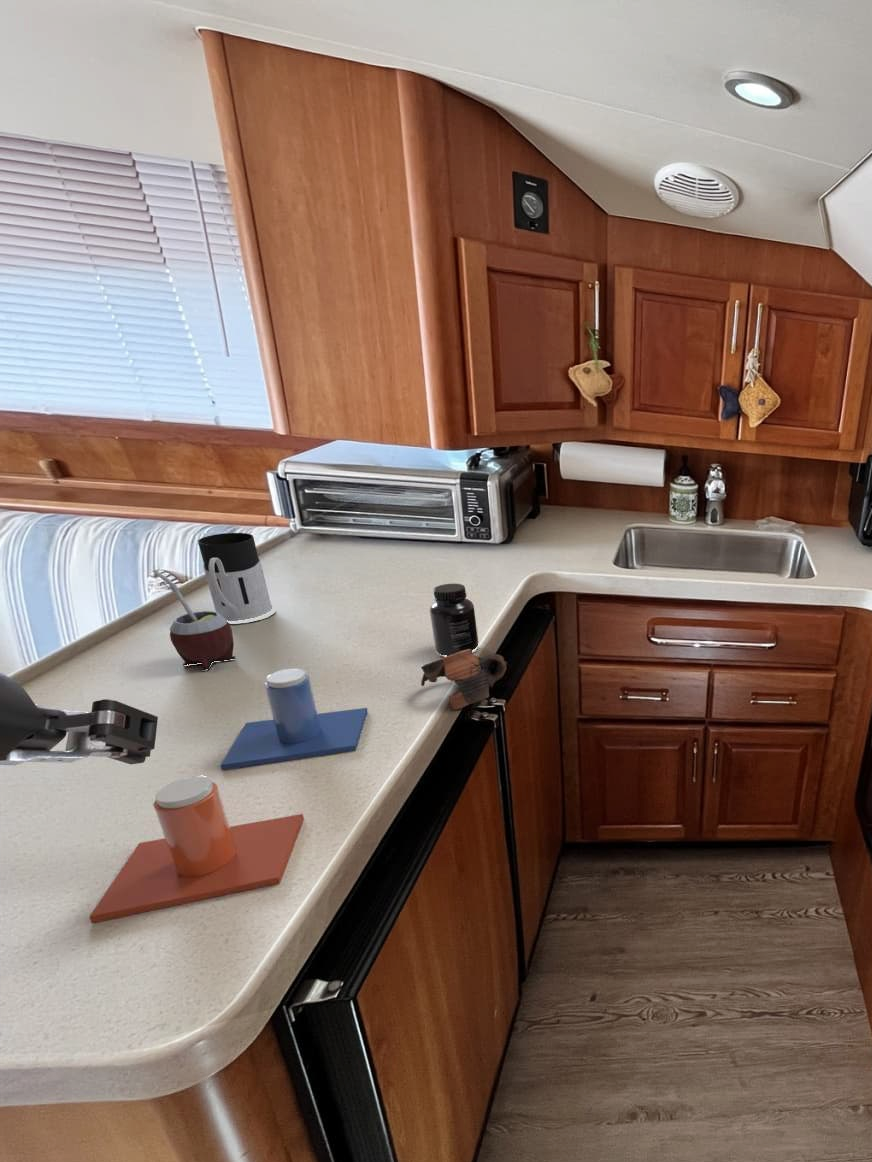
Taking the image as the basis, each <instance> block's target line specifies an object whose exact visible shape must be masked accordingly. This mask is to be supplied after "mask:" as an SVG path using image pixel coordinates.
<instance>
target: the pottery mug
mask: <svg viewBox="0 0 872 1162" xmlns="http://www.w3.org/2000/svg"><path fill="white" fill-rule="evenodd" d="M493 663H495V664H496V669H495V671H494V672H493V673H492V672H491V671H490V670H489V669H490V667H491V664H493ZM507 666H508V662H507V661H505V657H504V656H502V655H500V654H497V653H491V654H487V655H484V656H479V657H478V656H477V655H475V654H474V653H472V650H471V649H467V650H463V651H461V652H458V653H455V654H452V655H450V656H447V657H441V658H439V659H436V660H434V661H433V660H432V661H431V662H428V663H426V664H424V665H423V666H421V667H420V669H421V670H422V672H423V674H422V678H421V680H420V685H421V687H424V686H425V683H426V682H427V681H428V682H430V683H437V681H438V679H439V678H442V677H443V678H444V677H445V678H446V679H447V680H448V681H450V682H454V683H455V685H457V687H458V688H459V690H460V691H458V692H457V693H455V694H453V695H450V696H448V697H447V699H448V702H449V703H450V705H451V708H452V709H453V711H456V710H460V709H462V708H465V707H468V706H470V705H473V704H476V703H479V702H482V701H484V700H486V699H488V698H489V697H490V689H492V688H493V687H494V685H495V683H496V682H497V681H499V680H500V679H501V678H503V677H504V675H505V673H506V671H507V669H508V667H507ZM479 667H480V669H479Z"/></svg>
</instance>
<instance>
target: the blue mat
mask: <svg viewBox="0 0 872 1162" xmlns="http://www.w3.org/2000/svg"><path fill="white" fill-rule="evenodd" d="M367 711H368V712H369V710H368V707H361V708H353V709H346V710H345V709H344V710H337V711H330V712H322V713H318V717H319V722H320V726H321V732H320V733H319V734H318V735H317V736H315V737H314V738H312V739H310V740H307V741H304V742H300V743H295V744H285V743H282V742H280V741H279V739H278V736H277V732H276V728H275V724H274V720H273V719H266V720H258V721H251V722H245V724H244V726H243V728H242V729H241V731H240V732H239V734H238V736H237V737H236V739H235V740H234V742H233V744H232V745H231V747H230V748H229V750H228V752H226V753H227V754H226V755H225V757H224V758H223V760H222V761H221V764H220V769H221V771H227V770H231V769H238V768H245V767H253V766H259V765H265V764H272V763H278V762H285V761H286V762H288V761H294V760H299V759H306V758H314V757H319V756H327V755H333V754H340V752H341V753H347V752H353V751H352V750H354V751H357V748H358V745H357V744H359V742H358V741H360V739H361V735H362V732H363V729H362V727H363V728H364V726H363V724H364V725H365V723H364V721H365V722H366V719H365V717H366V718H367V716H366V714H367V715H368V713H367ZM361 731H362V732H361ZM360 734H361V735H360ZM356 747H357V748H356Z"/></svg>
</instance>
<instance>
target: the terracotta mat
mask: <svg viewBox="0 0 872 1162" xmlns="http://www.w3.org/2000/svg"><path fill="white" fill-rule="evenodd" d="M304 820H305V817H304V814H303V813H300V814H294V815H289V816H283V817H282V816H281V817H277V818H272V819H271V818H270V819H267V820H260V821H254V822H250V823H244V824H238V825H237V824H236V825H233V826H230V829H231V832H232V835H233V838H234V842H235V845H236V848H237V852H236V855H235V857H234V858H233V859H232V860H231V861H230V862H229V863H228V864H226V865H225V866H223V867H221V868H220V869H218V870H216V871H213V872H211V873H208V874H205V875H201V876H196V877H184V876H181V875H179V874H178V873H177V870H176V867H175V865H174V862H173V859H172V856H171V853H170V851H169V848H168V845H167V842H166V840H165V837H164V838H159V839H154V840H147V841H142V842H139V843H138V844H137V846H136V847H135V848H134V850H133V851H132V853H131V855H130V856H129V857H128V859H127V860H126V862H125V863H124V865H123V866H122V868H121V869H120V871H119V872H118V874H117V875H116V877H115V878H114V880H113V881H112V883H111V884H110V886H108V889H107V890H106V891H105V893H104V894H103V896H102V898H101V899H100V900H99V902H98V903H97V904H96V906H95V908H94V909H93V911H92V912H91V914H90V915H89V920H90V922H91V923H92V924H94V923H99V922H103V921H108V920H113V919H118V918H122V917H126V916H127V917H128V916H132V915H137V914H141V913H146V912H151V911H154V910H160V909H164V908H170V907H174V906H179V905H184V904H188V903H193V902H198V901H203V900H207V899H213V898H218V897H222V896H227V895H231V894H236V893H241V892H245V891H249V890H254V889H258V888H264V887H268V886H273V885H278V884H281V881H282V878H283V876H284V874H285V870H286V868H287V865H288V863H289V860H290V857H291V854H292V852H293V849H294V847H295V844H296V842H297V839H298V836H299V835H300V831H301V828H302V825H303V823H304Z"/></svg>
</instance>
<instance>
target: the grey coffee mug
mask: <svg viewBox="0 0 872 1162" xmlns="http://www.w3.org/2000/svg"><path fill="white" fill-rule="evenodd" d="M197 544H198V547H199V551H200V555H201V558H202V562H203V566H202V567H203V571H204V574H205V578H206V582H207V585H208V589H209V592H210V596H211V599H212V603H213V606H214V607H213V608H214V610H215V612H217V613H219V614H220V615H222V616H223V617H224V618H225V619H226V620H228V621H238V620H245V619H250V618H255V617H258V616H261V615H263V614H266V613H267V612H269V611H271V609H272V607H273V605H272V603H271V599H270V594H269V590H268V586H267V582H266V578H265V574H264V569H263V565H262V562H261V559H260V558H259V553H258V550H257V546H256V543H255V538H254V535H253V534H251V533H248V532H247V533H246V532H225V533H215V534H210V535H207V536H204V537H201V538H199V539H198V540H197Z"/></svg>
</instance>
